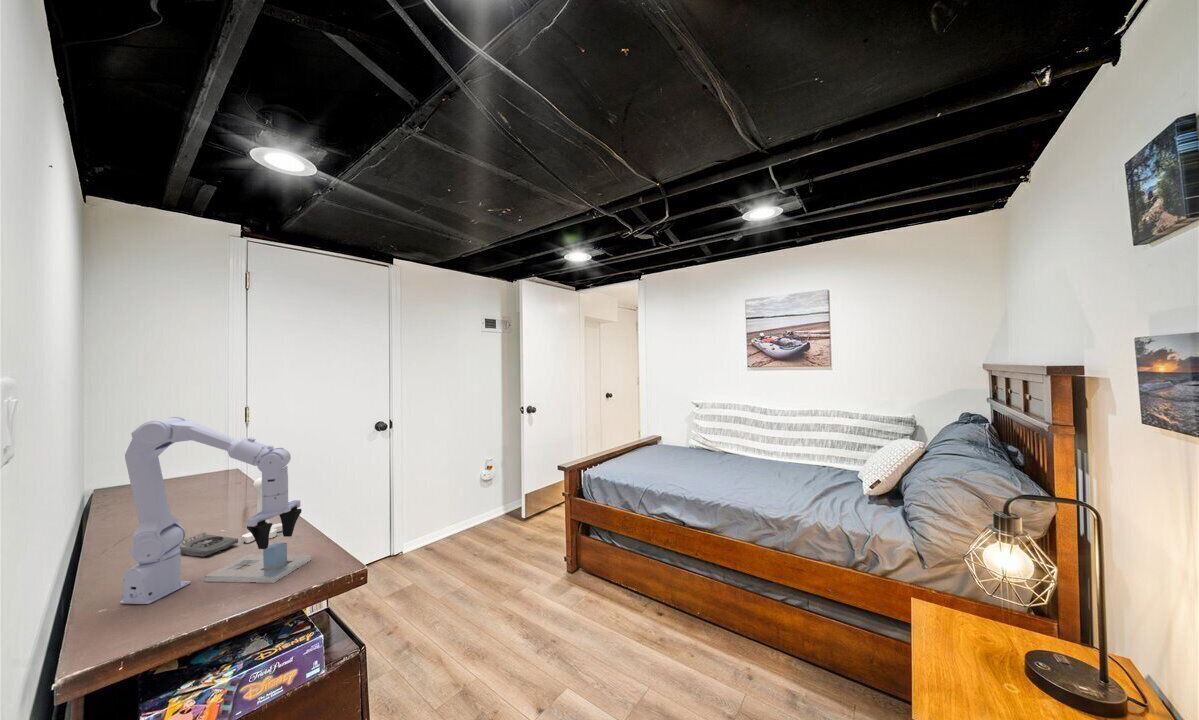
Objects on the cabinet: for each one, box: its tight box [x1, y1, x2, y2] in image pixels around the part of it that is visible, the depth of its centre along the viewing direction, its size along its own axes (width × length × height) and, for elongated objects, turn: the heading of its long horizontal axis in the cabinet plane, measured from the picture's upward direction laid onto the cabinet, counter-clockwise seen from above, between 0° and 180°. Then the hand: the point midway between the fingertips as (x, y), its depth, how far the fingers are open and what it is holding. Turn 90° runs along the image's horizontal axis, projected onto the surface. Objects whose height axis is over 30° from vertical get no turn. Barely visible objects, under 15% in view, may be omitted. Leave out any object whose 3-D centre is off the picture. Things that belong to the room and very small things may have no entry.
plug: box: [262, 542, 288, 570], centre depth 111 cm, size 4×4×7 cm
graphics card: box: [180, 531, 239, 557], centre depth 124 cm, size 17×4×12 cm
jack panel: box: [204, 553, 312, 584], centre depth 111 cm, size 12×20×2 cm, turn 85°
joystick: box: [241, 476, 283, 544], centre depth 134 cm, size 11×8×20 cm
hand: (275, 542), depth 111 cm, fingers open, 7 cm apart
